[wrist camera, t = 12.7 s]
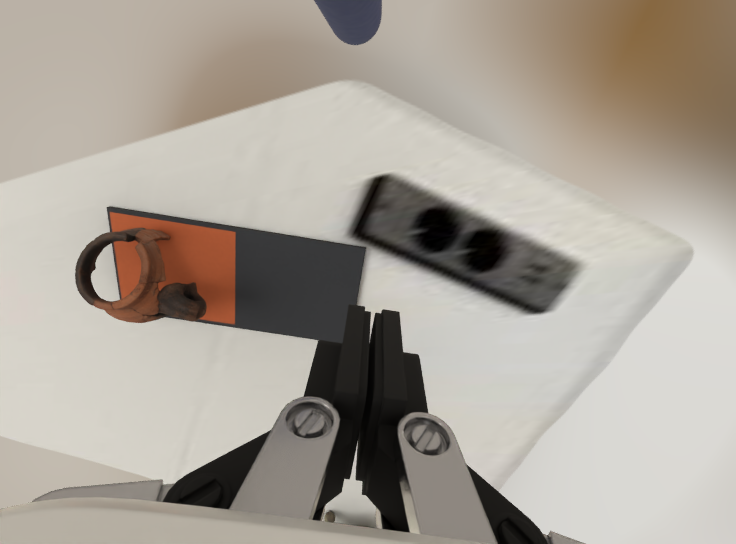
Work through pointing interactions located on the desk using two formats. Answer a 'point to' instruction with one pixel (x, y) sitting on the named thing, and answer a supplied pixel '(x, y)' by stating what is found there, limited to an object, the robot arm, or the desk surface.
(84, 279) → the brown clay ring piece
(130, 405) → the desk surface
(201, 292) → the desk mat
